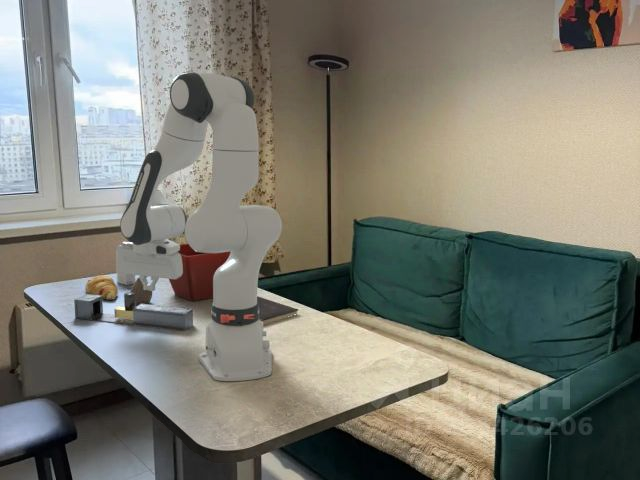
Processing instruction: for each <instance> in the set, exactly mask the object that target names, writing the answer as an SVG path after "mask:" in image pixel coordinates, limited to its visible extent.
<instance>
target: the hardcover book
mask: <svg viewBox="0 0 640 480" xmlns="http://www.w3.org/2000/svg"><path fill="white" fill-rule="evenodd" d="M257 302H258V304H259V320H260V321H262V322H263V324H264V325H266V324H267V325H268V324H271V323H274V322H277V321H280V320H279V319H281V320H283V319H282V318H284V319H286V318H285V317H288V316H291V315H294V314H297V315H298V311H299V309H298V308H295V307H291V306H289V305H285V304H283V303H280V302H278V301H277V302H276V301H273V300H271V299H267V298H265V297H261V296H258V295H257ZM294 316H295V315H294ZM291 317H292V316H291ZM288 318H289V317H288ZM276 320H277V321H276ZM273 321H274V322H273ZM270 322H271V323H270Z"/></svg>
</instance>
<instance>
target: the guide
mask: <svg viewBox="0 0 640 480" xmlns="http://www.w3.org/2000/svg"><path fill="white" fill-rule="evenodd" d="M73 300H74V301H73V302H74V318H75V319H76V320H77V319H78V320H84V321H85V320H87V321H93V320H94V321H95V322H101V323H102V322H104V323H111V324H112V323H113V324H121V325H131V326H137V327H138V326H139V327H145V328H146V327H148V328H154V329H155V328H156V329H164V330H171V331H172V330H173V331H180V332H184V331H187V330H188V329H190V328H191V327H193V325H194V309H193V308H188V307H187V308H185V307H178V306H168V305H167V306H166V305H160V304H159V305H158V304H149V303H148V304H140V305H136V307H135V308H133V319H125V318H115V314H111V313H104V306H103V299H102V296H100V295H90V294H83V295H81V296H79V297H77V298H74V299H73ZM94 321H93V322H94Z"/></svg>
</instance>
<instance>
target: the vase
mask: <svg viewBox="0 0 640 480" xmlns="http://www.w3.org/2000/svg"><path fill="white" fill-rule="evenodd" d="M130 292H132V293H135V300H136V306H138V305H140V304H149V303H150V302H151V300H152V299H153V291H148V290H144V288H143V284H142V282H141V280H140V276H138V277H137V278H136V279H135V283H133V284H132V286H131V288H130Z"/></svg>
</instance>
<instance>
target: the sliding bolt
mask: <svg viewBox="0 0 640 480" xmlns="http://www.w3.org/2000/svg"><path fill="white" fill-rule="evenodd" d="M123 299H124V300H123V302H124V306H117V307H116V308H114V315H115V318H125V319H133V308H135V307H137V305H136V300H135V293H132V292H131V291H130V292H125V293H124V294H123Z"/></svg>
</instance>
